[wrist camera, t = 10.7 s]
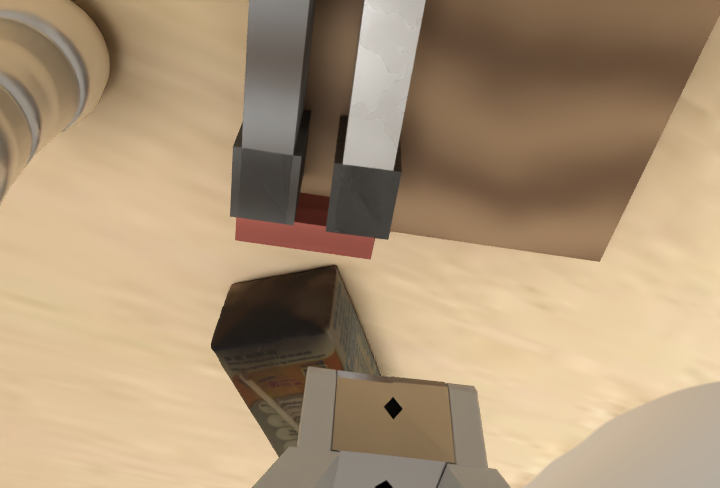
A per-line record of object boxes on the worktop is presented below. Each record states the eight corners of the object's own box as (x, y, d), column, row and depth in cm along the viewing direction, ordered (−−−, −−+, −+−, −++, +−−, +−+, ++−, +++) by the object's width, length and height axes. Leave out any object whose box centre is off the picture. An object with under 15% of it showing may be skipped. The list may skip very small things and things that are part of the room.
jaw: (379, -197, 26) (377, -189, 22) (457, -184, 26) (470, -174, 22) (332, 180, 37) (325, 231, 33) (387, 187, 37) (388, 239, 33)
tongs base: (275, -356, 24) (236, -399, 18) (829, -242, 26) (978, -244, 19) (244, 200, 39) (216, 286, 33) (595, 251, 40) (634, 343, 34)
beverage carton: (314, 450, 54) (307, 524, 49) (223, 279, 43) (200, 351, 38) (407, 436, 52) (409, 511, 47) (336, 255, 42) (329, 326, 36)
